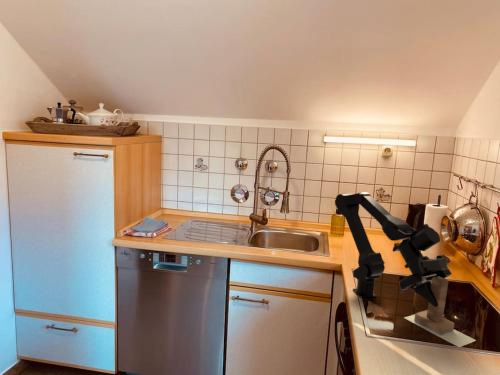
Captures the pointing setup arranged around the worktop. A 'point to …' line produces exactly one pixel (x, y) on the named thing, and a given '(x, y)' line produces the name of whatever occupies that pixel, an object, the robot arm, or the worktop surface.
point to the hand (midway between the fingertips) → (440, 305)
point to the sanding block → (436, 309)
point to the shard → (375, 309)
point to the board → (447, 334)
